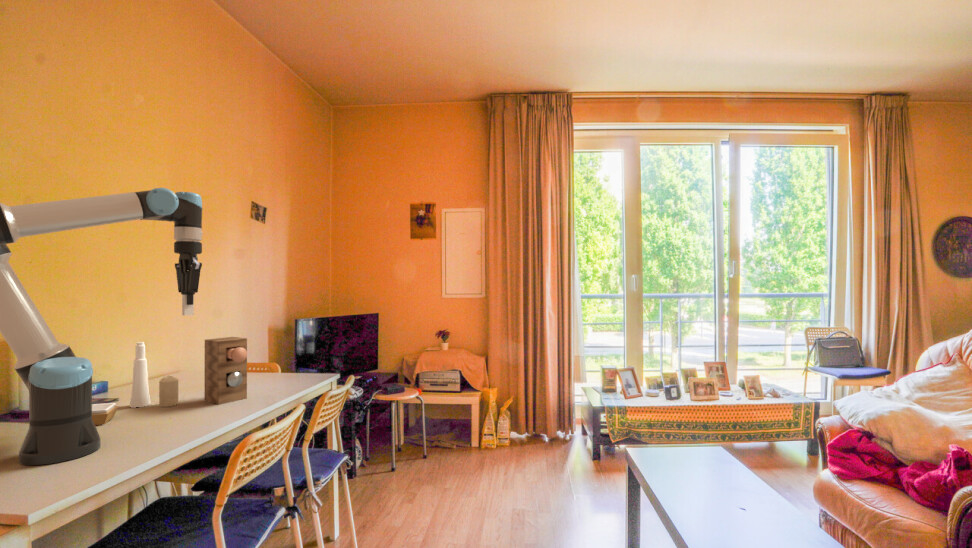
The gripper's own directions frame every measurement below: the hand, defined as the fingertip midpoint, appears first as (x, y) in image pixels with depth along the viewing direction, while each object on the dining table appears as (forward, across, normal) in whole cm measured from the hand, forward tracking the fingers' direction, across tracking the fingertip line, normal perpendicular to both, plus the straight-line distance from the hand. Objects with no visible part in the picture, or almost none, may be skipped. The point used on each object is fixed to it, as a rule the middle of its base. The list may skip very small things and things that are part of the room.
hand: (187, 315), depth 148 cm
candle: (+33, +21, -3) cm, 39 cm away
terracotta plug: (+18, +8, -18) cm, 27 cm away
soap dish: (+33, +19, +19) cm, 43 cm away
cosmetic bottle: (+33, +29, +2) cm, 43 cm away
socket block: (+32, +12, -18) cm, 39 cm away
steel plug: (+27, +11, -18) cm, 34 cm away
